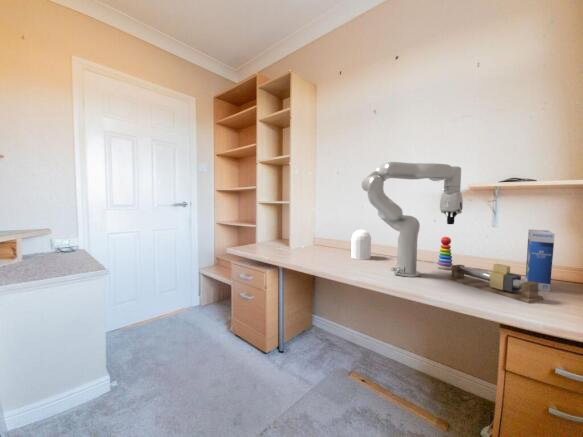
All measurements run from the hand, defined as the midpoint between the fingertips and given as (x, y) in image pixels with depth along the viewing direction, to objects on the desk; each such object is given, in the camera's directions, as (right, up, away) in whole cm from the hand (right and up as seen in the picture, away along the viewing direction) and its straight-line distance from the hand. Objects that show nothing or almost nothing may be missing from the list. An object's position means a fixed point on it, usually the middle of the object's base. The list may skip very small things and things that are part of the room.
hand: (450, 224), depth 135 cm
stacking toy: (+4, -27, +12) cm, 30 cm away
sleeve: (+6, -27, -26) cm, 38 cm away
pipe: (+4, -26, -22) cm, 34 cm away
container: (-37, -25, +41) cm, 60 cm away
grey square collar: (+7, -27, -29) cm, 41 cm away
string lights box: (+28, -29, -19) cm, 44 cm away
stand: (+4, -29, -21) cm, 36 cm away
